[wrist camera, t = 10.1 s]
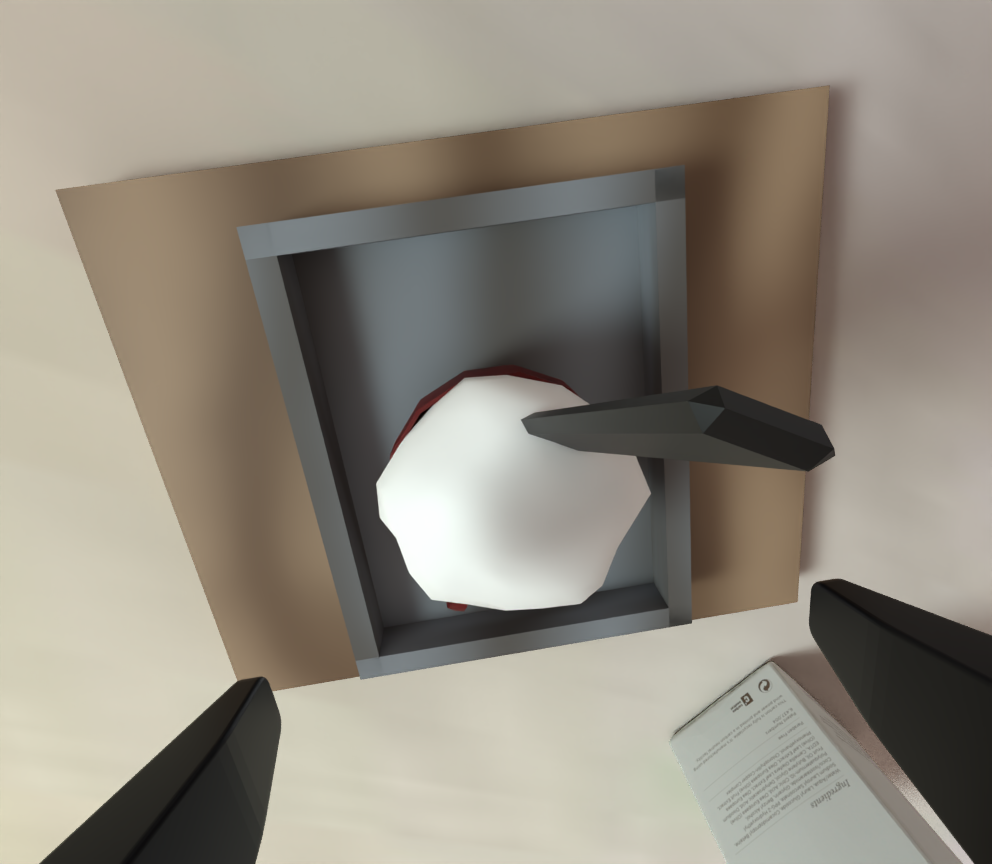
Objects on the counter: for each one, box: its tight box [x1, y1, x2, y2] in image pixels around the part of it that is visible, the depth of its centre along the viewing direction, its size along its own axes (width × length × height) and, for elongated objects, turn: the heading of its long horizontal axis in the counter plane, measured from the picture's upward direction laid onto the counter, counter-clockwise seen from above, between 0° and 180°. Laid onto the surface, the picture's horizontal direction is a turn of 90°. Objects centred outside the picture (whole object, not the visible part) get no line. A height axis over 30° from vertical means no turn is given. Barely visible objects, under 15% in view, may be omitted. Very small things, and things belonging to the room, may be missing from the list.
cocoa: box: [376, 364, 835, 611], centre depth 12 cm, size 10×6×12 cm, turn 138°
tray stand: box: [56, 85, 830, 691], centre depth 18 cm, size 22×18×4 cm
